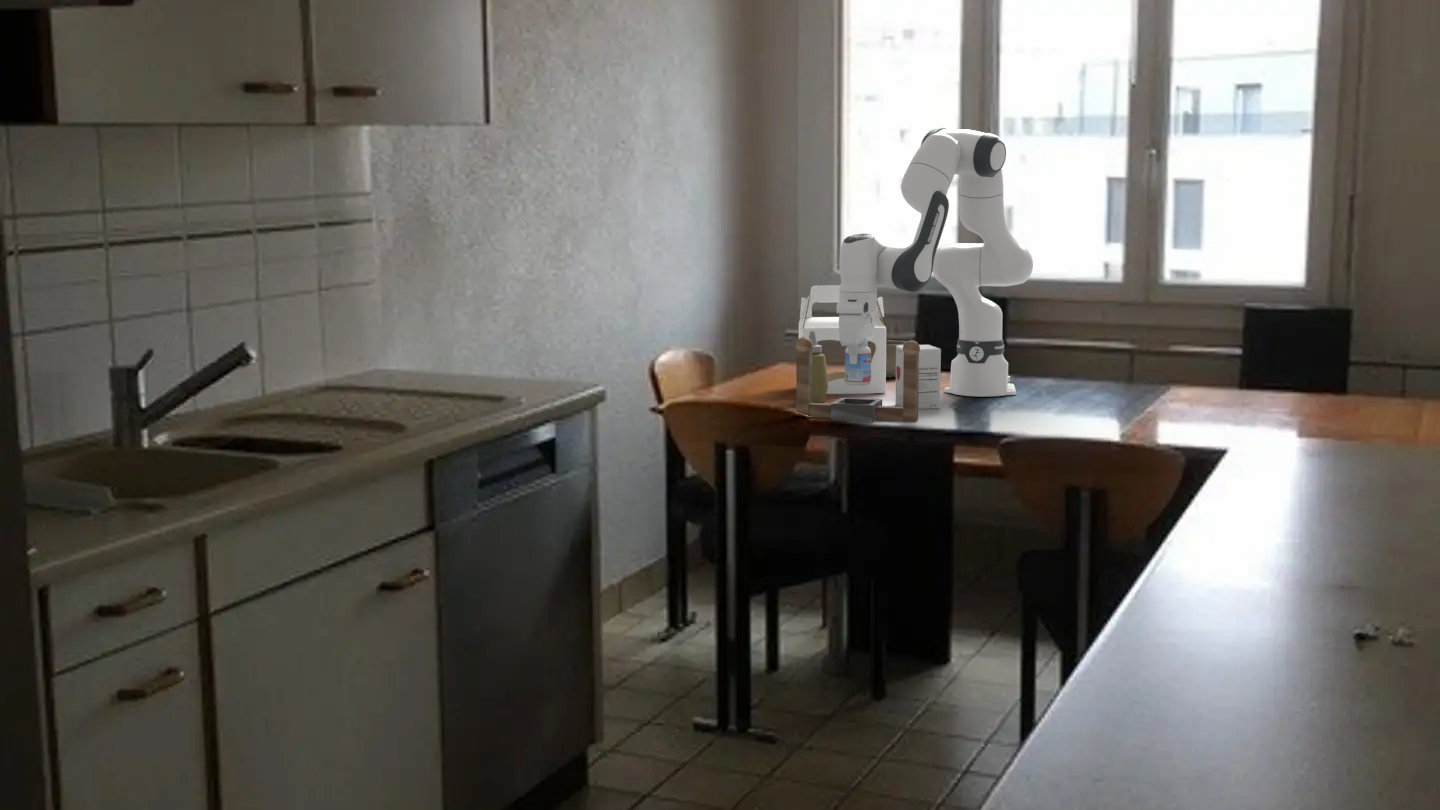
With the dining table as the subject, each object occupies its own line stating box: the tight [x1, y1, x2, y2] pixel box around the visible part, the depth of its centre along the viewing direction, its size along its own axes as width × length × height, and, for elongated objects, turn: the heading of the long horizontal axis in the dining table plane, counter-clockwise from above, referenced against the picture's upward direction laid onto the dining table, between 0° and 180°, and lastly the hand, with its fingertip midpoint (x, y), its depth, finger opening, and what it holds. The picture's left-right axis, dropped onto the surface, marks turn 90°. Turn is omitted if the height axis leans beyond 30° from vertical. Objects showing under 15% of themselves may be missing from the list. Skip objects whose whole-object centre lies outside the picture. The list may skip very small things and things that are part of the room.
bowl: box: [867, 339, 907, 378], centre depth 476 cm, size 17×18×10 cm
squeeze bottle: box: [809, 331, 828, 403], centre depth 429 cm, size 8×8×18 cm
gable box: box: [798, 284, 887, 395], centre depth 448 cm, size 22×13×28 cm, turn 92°
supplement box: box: [895, 344, 942, 410], centre depth 420 cm, size 9×9×15 cm
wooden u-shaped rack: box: [795, 337, 920, 423], centre depth 403 cm, size 10×30×19 cm, turn 72°
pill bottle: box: [844, 337, 871, 386], centre depth 402 cm, size 6×6×11 cm
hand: (857, 361), depth 402 cm, fingers closed on pill bottle, 6 cm apart
